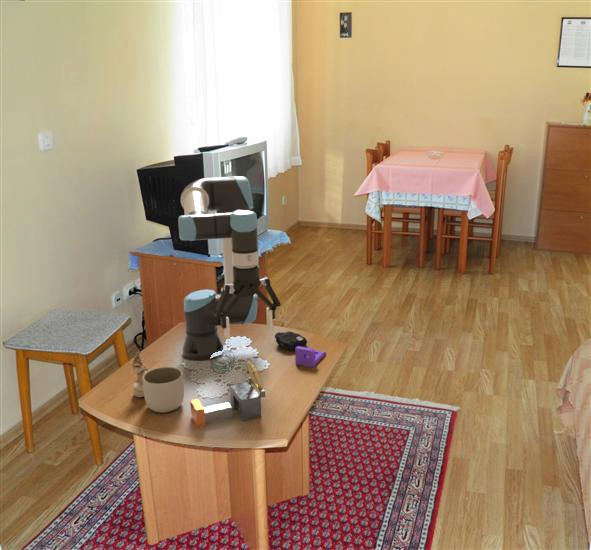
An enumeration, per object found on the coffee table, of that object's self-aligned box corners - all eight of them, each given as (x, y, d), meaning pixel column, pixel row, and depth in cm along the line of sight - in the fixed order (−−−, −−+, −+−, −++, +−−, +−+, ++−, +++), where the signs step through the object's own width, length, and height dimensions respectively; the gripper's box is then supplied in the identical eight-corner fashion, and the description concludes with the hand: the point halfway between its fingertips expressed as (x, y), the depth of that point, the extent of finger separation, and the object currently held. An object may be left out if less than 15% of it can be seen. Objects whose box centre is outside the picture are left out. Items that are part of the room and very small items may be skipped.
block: (231, 405, 206) (230, 381, 204) (253, 400, 209) (252, 376, 206) (242, 421, 197) (241, 395, 194) (266, 415, 199) (265, 390, 197)
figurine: (160, 396, 213) (156, 354, 209) (137, 401, 210) (133, 358, 206) (153, 387, 219) (149, 346, 215) (131, 392, 216) (127, 350, 212)
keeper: (251, 382, 205) (245, 360, 202) (254, 381, 206) (248, 359, 203) (260, 393, 198) (254, 371, 195) (263, 392, 199) (257, 369, 196)
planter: (149, 420, 199) (146, 387, 196) (141, 402, 210) (138, 371, 207) (189, 411, 203) (187, 379, 200) (180, 394, 214) (177, 363, 211)
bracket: (313, 369, 231) (313, 351, 229) (295, 365, 234) (295, 348, 232) (326, 356, 242) (326, 338, 240) (309, 353, 244) (308, 336, 242)
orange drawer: (227, 409, 204) (226, 392, 202) (234, 420, 198) (233, 402, 196) (191, 417, 199) (190, 400, 198) (197, 428, 193) (196, 410, 192)
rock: (295, 339, 254) (295, 326, 252) (309, 348, 248) (309, 334, 246) (273, 346, 249) (273, 332, 247) (287, 355, 242) (287, 341, 240)
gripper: (208, 274, 180) (213, 345, 186) (290, 262, 190) (292, 330, 197) (200, 267, 187) (204, 337, 193) (279, 256, 197) (281, 322, 203)
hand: (248, 333), depth 195 cm, fingers open, 13 cm apart
